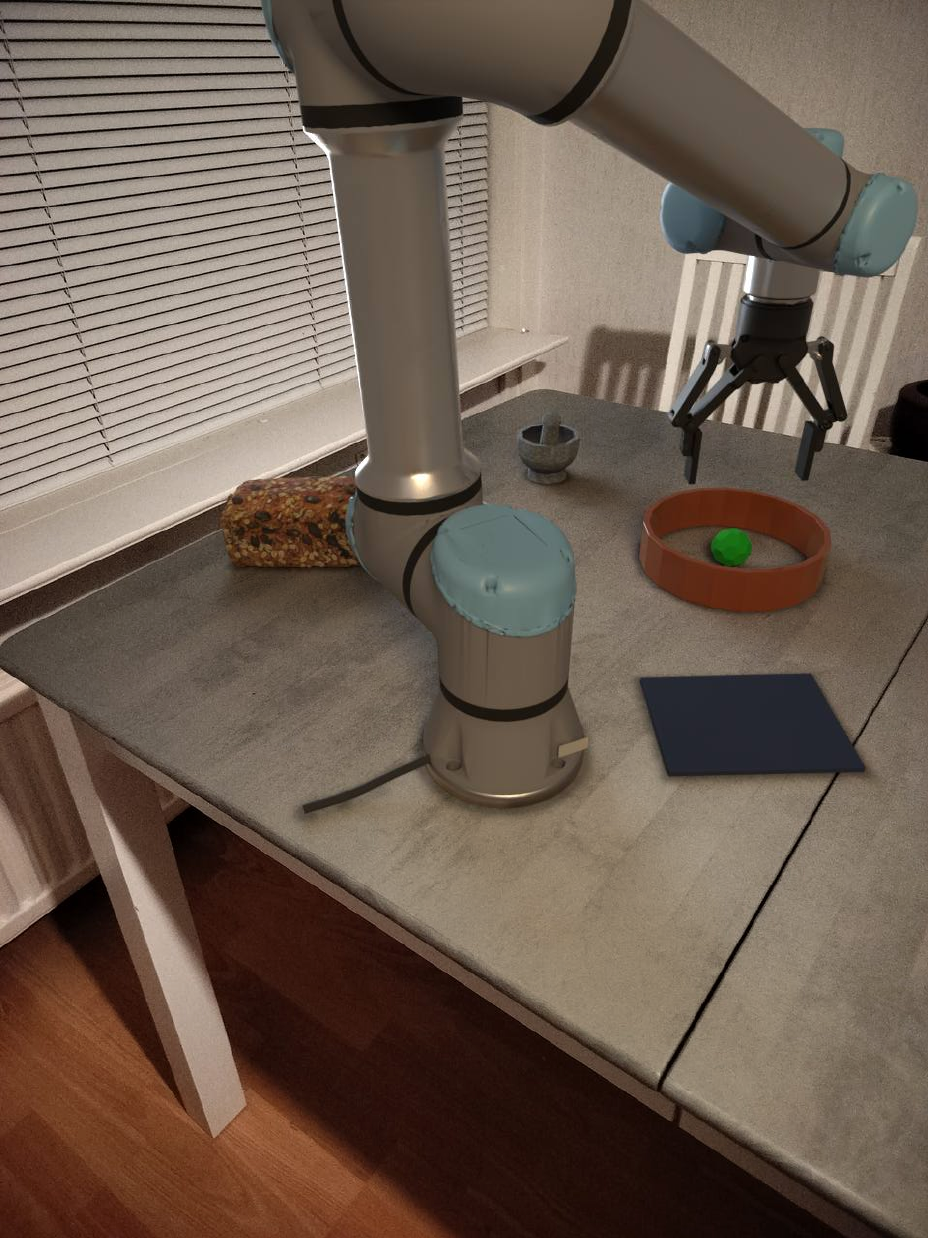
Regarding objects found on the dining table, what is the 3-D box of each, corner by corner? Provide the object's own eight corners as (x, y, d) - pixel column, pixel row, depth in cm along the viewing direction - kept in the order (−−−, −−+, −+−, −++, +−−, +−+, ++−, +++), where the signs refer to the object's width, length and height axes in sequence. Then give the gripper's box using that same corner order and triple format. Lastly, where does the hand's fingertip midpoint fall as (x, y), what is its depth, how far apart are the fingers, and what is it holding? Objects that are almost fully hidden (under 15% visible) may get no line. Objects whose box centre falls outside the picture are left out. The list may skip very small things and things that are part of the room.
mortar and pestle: (515, 463, 135) (516, 391, 128) (573, 462, 135) (577, 390, 128) (518, 493, 126) (520, 417, 119) (580, 492, 126) (585, 416, 119)
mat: (668, 776, 76) (669, 772, 75) (639, 681, 87) (640, 677, 87) (864, 772, 76) (866, 767, 75) (809, 677, 87) (811, 673, 87)
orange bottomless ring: (659, 614, 98) (664, 574, 95) (626, 525, 116) (630, 489, 113) (850, 609, 98) (861, 569, 95) (786, 521, 116) (794, 485, 113)
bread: (379, 533, 116) (373, 467, 110) (366, 572, 107) (358, 503, 101) (250, 531, 117) (237, 466, 112) (226, 569, 109) (211, 500, 103)
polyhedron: (721, 575, 105) (726, 542, 102) (701, 557, 108) (706, 525, 106) (756, 569, 106) (762, 536, 103) (735, 551, 109) (741, 519, 107)
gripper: (879, 283, 91) (836, 461, 103) (654, 291, 92) (637, 468, 104) (910, 300, 85) (860, 487, 97) (668, 308, 85) (648, 494, 97)
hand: (745, 478), depth 100 cm, fingers open, 13 cm apart
